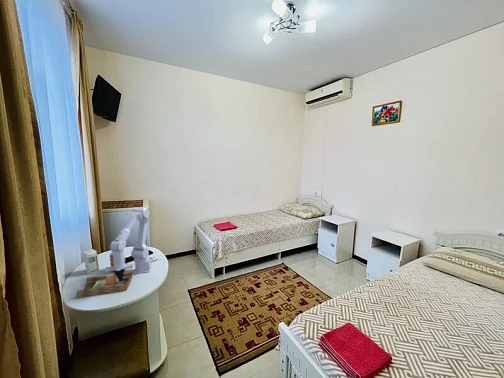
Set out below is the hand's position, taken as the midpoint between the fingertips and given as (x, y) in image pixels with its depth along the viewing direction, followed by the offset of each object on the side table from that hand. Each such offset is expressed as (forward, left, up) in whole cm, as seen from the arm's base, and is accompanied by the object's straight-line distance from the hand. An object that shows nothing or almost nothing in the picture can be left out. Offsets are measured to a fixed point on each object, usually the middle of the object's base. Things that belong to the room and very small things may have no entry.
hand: (120, 280), depth 133 cm
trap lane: (+8, 0, -3) cm, 8 cm away
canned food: (+7, -21, -3) cm, 23 cm away
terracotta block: (+5, 0, -1) cm, 5 cm away
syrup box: (+23, -23, -3) cm, 33 cm away
